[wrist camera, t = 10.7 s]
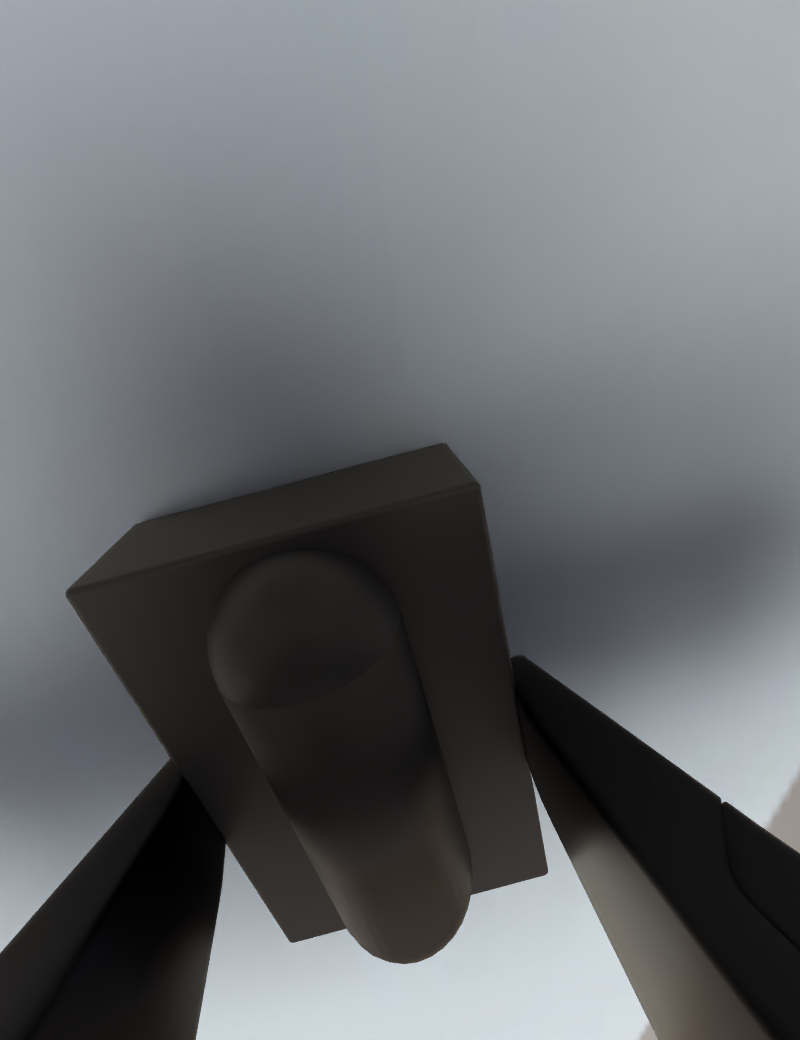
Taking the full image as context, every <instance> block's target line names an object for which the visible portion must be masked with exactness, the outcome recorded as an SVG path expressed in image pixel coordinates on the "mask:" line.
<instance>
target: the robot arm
mask: <svg viewBox="0 0 800 1040" xmlns="http://www.w3.org/2000/svg"><path fill="white" fill-rule="evenodd" d="M511 663H512V669H513V674H514V680H515V686H516V690H515V700H516V705H517V711H518V716H519V722H520V727H521V733H522V738H523V744H524V750H525V755H526V760H527V763H528V766H529V769H530V771H531V774H532V777H533V780H534V782H535V785H536V788H537V790H538V793H539V795H540V798H541V800H542V802H543V804H544V807H545V809H546V811H547V813H548V815H549V817H550V819H551V821H552V824H553V826H554V828H555V830H556V832H557V834H558V836H559V838H560V840H561V842H562V844H563V846H564V848H565V850H566V852H567V854H568V856H569V858H570V860H571V862H572V864H573V866H574V869H575V871H576V873H577V875H578V877H579V879H580V881H581V883H582V885H583V887H584V889H585V891H586V893H587V895H588V897H589V899H590V901H591V903H592V905H593V907H594V909H595V911H596V914H597V916H598V918H599V920H600V922H601V924H602V926H603V928H604V930H605V932H606V934H607V936H608V938H609V940H610V942H611V944H612V946H613V948H614V950H615V952H616V954H617V956H618V958H619V961H620V963H621V965H622V967H623V969H624V971H625V973H626V975H627V977H628V979H629V981H630V983H631V985H632V987H633V989H634V991H635V993H636V995H637V997H638V999H639V1001H640V1003H641V1006H642V1008H643V1010H644V1012H645V1014H646V1016H647V1018H648V1020H649V1022H650V1024H651V1026H652V1028H653V1030H654V1032H655V1034H656V1036H657V1038H658V1040H800V853H798V852H797V851H795V850H794V849H793V848H791V847H790V846H788V845H787V844H785V843H784V842H782V841H781V840H780V839H778V838H777V837H775V836H774V835H772V834H771V833H769V832H768V831H767V830H765V829H764V828H762V827H761V826H759V825H758V824H756V823H755V822H754V821H752V820H751V819H750V818H748V817H747V816H745V815H744V814H743V813H741V812H740V811H739V810H737V809H736V808H734V807H733V806H732V805H730V804H729V803H727V802H723V803H721V799H720V797H719V796H717V795H716V794H715V793H713V792H712V791H710V790H709V789H708V788H706V787H705V786H704V785H702V784H701V783H699V782H698V781H697V780H695V779H694V778H692V777H691V776H690V775H688V774H687V773H686V772H684V771H683V770H681V769H680V768H679V767H677V766H676V765H674V764H673V763H672V762H670V761H669V760H668V759H666V758H665V757H663V756H662V755H661V754H659V753H658V752H656V751H655V750H654V749H652V748H651V747H649V746H648V745H647V744H645V743H644V742H643V741H641V740H640V739H638V738H637V737H636V736H634V735H633V734H631V733H630V732H629V731H627V730H626V729H625V728H623V727H622V726H620V725H619V724H618V723H616V722H615V721H613V720H612V719H611V718H609V717H608V716H606V715H605V714H604V713H602V712H601V711H600V710H598V709H597V708H595V707H594V706H593V705H591V704H590V703H588V702H587V701H586V700H584V699H583V698H582V697H580V696H579V695H577V694H576V693H575V692H573V691H572V690H570V689H569V688H568V687H566V686H565V685H563V684H562V683H561V682H559V681H558V680H557V679H555V678H554V677H552V676H551V675H550V674H548V673H547V672H545V671H544V670H543V669H541V668H540V667H539V666H537V665H536V664H534V663H533V662H532V661H530V660H529V659H527V658H526V657H525V656H523V655H516V656H512V657H511ZM225 846H226V841H225V839H224V838H223V836H222V835H221V833H220V832H219V830H218V828H217V827H216V825H215V824H214V822H213V821H212V819H211V818H210V816H209V815H208V813H207V811H206V810H205V808H204V807H203V805H202V804H201V802H200V801H199V799H198V798H197V796H196V794H195V793H194V791H193V790H192V788H191V787H190V785H189V784H188V782H187V781H186V780H185V779H184V778H183V776H182V775H181V773H180V772H179V770H178V769H177V767H176V766H175V764H174V762H173V761H172V759H171V758H170V760H169V761H168V762H167V763H166V764H165V765H164V766H163V768H162V769H161V770H160V771H159V772H158V773H157V774H156V776H155V777H154V778H153V779H152V780H151V781H150V782H149V784H148V785H147V786H146V787H145V788H144V789H143V790H142V792H141V793H140V794H139V795H138V796H137V797H136V798H135V800H134V801H133V802H132V803H131V804H130V805H129V806H128V808H127V809H126V810H125V811H124V812H123V813H122V814H121V816H120V817H119V818H118V819H117V820H116V821H115V823H114V824H113V825H112V826H111V827H110V828H109V829H108V831H107V832H106V833H105V834H104V835H103V836H102V837H101V839H100V840H99V841H98V842H97V843H96V844H95V845H94V847H93V848H92V849H91V850H90V851H89V852H88V853H87V855H86V856H85V857H84V858H83V859H82V860H81V861H80V863H79V864H78V865H77V866H76V867H75V868H74V869H73V871H72V872H71V873H70V874H69V875H68V876H67V877H66V879H65V880H64V881H63V882H62V883H61V884H60V885H59V887H58V888H57V889H56V890H55V891H54V892H53V893H52V895H51V896H50V897H49V898H48V899H47V900H46V902H45V903H44V904H43V905H42V906H41V907H40V908H39V910H38V911H37V912H36V913H35V914H34V915H33V916H32V918H31V919H30V920H29V921H28V922H27V923H26V924H25V926H24V927H23V928H22V929H21V930H20V931H19V932H18V934H17V935H16V936H15V937H14V938H13V939H12V940H11V942H10V943H9V944H8V945H7V946H6V947H5V948H4V950H3V951H2V952H1V953H0V1040H196V1034H197V1029H198V1023H199V1017H200V1011H201V1006H202V1000H203V994H204V988H205V983H206V977H207V971H208V965H209V960H210V954H211V948H212V942H213V936H214V931H215V925H216V919H217V913H218V908H219V902H220V895H221V888H222V880H223V871H224V859H225Z"/></svg>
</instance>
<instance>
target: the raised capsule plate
mask: <svg viewBox="0 0 800 1040" xmlns="http://www.w3.org/2000/svg"><path fill="white" fill-rule="evenodd" d="M66 597H67V599H68V601H69V602H70V604H71V605H72V607H73V608H74V610H75V611H76V613H77V614H78V616H79V618H80V619H81V621H82V622H83V624H84V625H85V627H86V628H87V630H88V631H89V633H90V635H91V636H92V638H93V639H94V641H95V642H96V644H97V645H98V647H99V648H100V650H101V651H102V653H103V655H104V656H105V658H106V659H107V661H108V662H109V664H110V665H111V667H112V668H113V670H114V672H115V673H116V675H117V676H118V678H119V679H120V681H121V682H122V684H123V685H124V687H125V688H126V690H127V692H128V693H129V695H130V696H131V698H132V699H133V701H134V702H135V704H136V705H137V707H138V709H139V710H140V712H141V713H142V715H143V716H144V718H145V719H146V721H147V722H148V724H149V725H150V727H151V729H152V730H153V732H154V733H155V735H156V736H157V738H158V739H159V741H160V742H161V744H162V746H163V747H164V749H165V750H166V752H167V753H168V755H169V756H170V758H171V759H172V761H173V762H174V764H175V766H176V767H177V769H178V770H179V772H180V773H181V775H182V776H183V778H184V779H185V780H186V781H187V782H188V784H189V785H190V787H191V788H192V790H193V791H194V793H195V794H196V796H197V798H198V799H199V801H200V802H201V804H202V805H203V807H204V808H205V810H206V811H207V813H208V815H209V816H210V818H211V819H212V821H213V822H214V824H215V825H216V827H217V828H218V830H219V832H220V833H221V835H222V836H223V838H224V839H225V841H226V844H227V846H228V847H229V849H230V850H231V852H232V853H233V855H234V857H235V858H236V860H237V861H238V863H239V864H240V866H241V867H242V869H243V870H244V872H245V874H246V875H247V877H248V878H249V880H250V881H251V883H252V884H253V886H254V887H255V889H256V890H257V892H258V894H259V895H260V897H261V898H262V900H263V901H264V903H265V904H266V906H267V907H268V909H269V911H270V912H271V914H272V915H273V917H274V918H275V920H276V921H277V923H278V924H279V926H280V927H281V929H282V931H283V932H284V934H285V935H286V937H287V938H288V940H289V941H290V942H292V943H294V942H298V941H302V940H305V939H309V938H313V937H317V936H320V935H324V934H328V933H331V932H335V931H339V930H343V929H346V928H347V929H348V931H349V932H350V934H351V935H352V936H353V937H354V938H355V940H356V941H357V942H358V943H359V944H360V946H361V947H363V948H364V949H365V950H366V951H368V952H369V953H370V954H372V955H373V956H376V957H378V958H380V959H383V960H385V961H388V962H392V963H400V964H408V963H415V962H419V961H422V960H424V959H427V958H429V957H431V956H433V955H434V954H436V953H437V952H438V951H440V950H441V949H443V948H444V947H445V946H446V945H447V943H448V942H449V941H450V940H451V939H452V938H453V937H454V935H455V934H456V932H457V931H458V929H459V927H460V926H461V924H462V922H463V919H464V917H465V914H466V912H467V909H468V905H469V901H470V896H471V895H473V894H476V893H480V892H484V891H488V890H491V889H495V888H499V887H502V886H506V885H510V884H514V883H517V882H521V881H525V880H528V879H532V878H536V877H540V876H543V875H546V874H547V873H548V867H547V862H546V856H545V850H544V845H543V839H542V833H541V828H540V822H539V816H538V811H537V805H536V799H535V793H534V788H533V782H532V776H531V771H530V769H529V766H528V763H527V760H526V755H525V750H524V744H523V738H522V733H521V727H520V722H519V716H518V711H517V705H516V700H515V690H516V686H515V680H514V674H513V669H512V663H511V657H510V651H509V646H508V640H507V634H506V629H505V623H504V617H503V612H502V606H501V600H500V595H499V589H498V583H497V578H496V572H495V566H494V561H493V555H492V549H491V544H490V538H489V532H488V526H487V521H486V515H485V509H484V504H483V498H482V492H481V487H480V485H479V483H478V482H477V480H476V479H475V478H474V477H473V476H472V474H471V473H470V472H469V471H468V470H467V468H466V467H465V466H464V465H463V464H462V462H461V461H460V460H459V459H458V458H457V456H456V455H455V454H454V453H453V452H452V450H451V449H450V448H449V447H448V446H447V444H443V443H441V444H438V445H434V446H430V447H426V448H422V449H419V450H415V451H411V452H407V453H404V454H400V455H396V456H392V457H388V458H385V459H381V460H377V461H373V462H369V463H366V464H362V465H358V466H354V467H351V468H347V469H343V470H339V471H335V472H332V473H328V474H324V475H320V476H316V477H313V478H309V479H305V480H301V481H298V482H294V483H290V484H286V485H282V486H279V487H275V488H271V489H267V490H264V491H260V492H256V493H252V494H248V495H245V496H241V497H237V498H233V499H229V500H226V501H222V502H218V503H214V504H211V505H207V506H203V507H199V508H195V509H192V510H188V511H184V512H180V513H176V514H173V515H169V516H165V517H161V518H158V519H154V520H150V521H146V522H142V523H139V524H136V525H134V526H133V527H132V528H131V529H130V530H129V531H128V532H127V533H126V534H125V535H124V536H123V537H122V538H121V539H120V540H119V541H118V542H117V543H116V544H114V545H113V546H112V547H111V548H110V549H109V550H108V551H107V552H106V553H105V554H104V555H103V556H102V557H101V558H100V559H99V560H98V561H97V562H96V563H95V564H94V565H93V566H92V567H91V568H89V569H88V570H87V571H86V572H85V573H84V574H83V575H82V576H81V577H80V578H79V579H78V580H77V581H76V582H75V583H74V584H73V585H72V586H71V587H70V588H69V589H68V590H67V591H66Z"/></svg>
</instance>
